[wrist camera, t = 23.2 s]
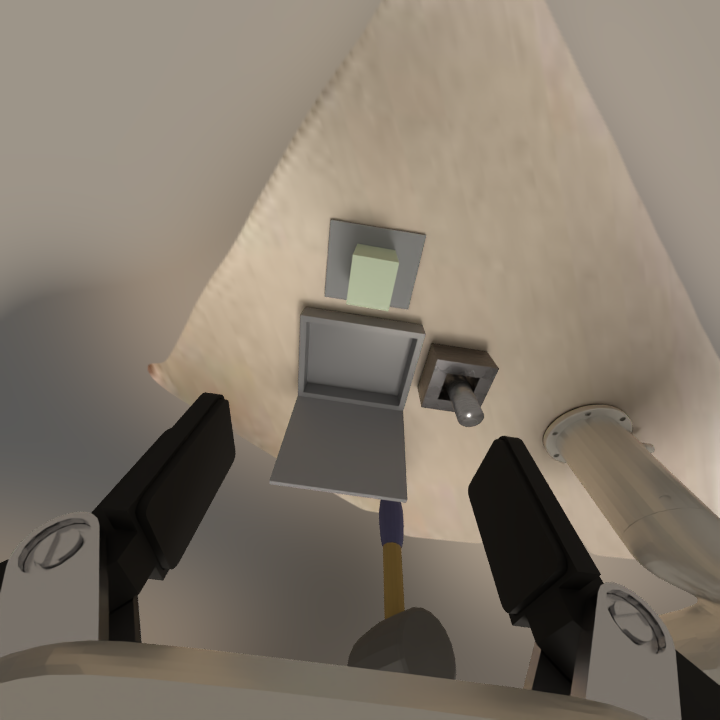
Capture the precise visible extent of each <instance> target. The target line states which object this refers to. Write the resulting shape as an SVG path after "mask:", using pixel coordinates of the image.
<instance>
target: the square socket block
mask: <svg viewBox="0 0 720 720" xmlns="http://www.w3.org/2000/svg"><path fill="white" fill-rule="evenodd" d="M498 370H499V368H498V367H497V365H496V364H495V362H494V361H493V359H492V358H491V357H490V355H489V354H488V352H486V351H480V350H473V349H466V348H460V347H453V346H447V345H440V344H434V343H432V344H431V347H430V350H429V354H428V357H427V360H426V363H425V366H424V369H423V373H422V376H421V379H420V382H419V385H418V392H419V397H420V402H421V407H424V408H431V409H438V410H445V411H451V412H455V411H454V408H453V406H452V403H451V400H450V397H449V395H448V392H447V389H446V386H445V383H444V380H445V378H446V375H447V373H450V374H456V375H463V376H466V379H467V381H468V383H469V385H470V387H471V389H472V391H473V393H474V395H475V397H476V399H477V401H478V403H479V405H480V407H481V405H482V403H483V401H484V399H485V397H486V395H487V393H488V391H489V388H490V386H491V384H492V382H493V380H494V378H495V376H496V374H497V372H498Z"/></svg>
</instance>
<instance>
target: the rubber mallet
mask: <svg viewBox="0 0 720 720" xmlns="http://www.w3.org/2000/svg"><path fill="white" fill-rule="evenodd" d="M379 525H380V536H381V542H382V546H383V567H384V609H385V620H383V621H381V622H379V623H378V624H376V625H375V626H374V627H373V628H371V629H370V630H369V631H368V632H366V633H365V634H364V635H363V636H362V637H361V638H360V639H359V640H358V641H357V642H356V643H355V645H354V646H353V649H352V651H351V653H350V656H349V660H348V667H356V668H364V669H372V670H380V671H389V672H397V673H405V674H413V675H421V676H429V677H436V678H444V679H452V680H455V678H456V664H455V657H454V652H453V648H452V644H451V642H450V640H449V637H448V635H447V633H446V630H445V629H444V627H443V626H442V624H441V623H440V621H439V620H438V619H437V618H436V617H435V616H434V615H433V614H432V613H431V612H429V611H427V610H425V609H423V608H416V607H413V608H410V609H407V610H404V594H403V593H404V592H403V574H402V557H401V548H402V544H403V528H404V525H403V510H402V506H401V502H396V501H389V500H382V499H381V501H380V509H379Z"/></svg>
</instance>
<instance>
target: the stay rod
mask: <svg viewBox="0 0 720 720" xmlns="http://www.w3.org/2000/svg"><path fill="white" fill-rule="evenodd" d="M444 383H445V386H446V389H447V392H448V395H449V397H450V400H451V403H452V406H453V408H454V411H455V414H456V417H457V420H458V422H459V423H460V424H461V425H462V426H465V427H472V426H476V425H478V424H479V423H481V422H482V420H483V418H484V414H483V411H482V409H481V407H480V405H479V403H478V401H477V399H476V397H475V395H474V393H473V391H472V389H471V387H470V385H469V383H468V381H467V379H466V376H463V375H456V374H450V373H447V375H446V378H445V380H444Z"/></svg>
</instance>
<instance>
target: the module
mask: <svg viewBox="0 0 720 720" xmlns="http://www.w3.org/2000/svg"><path fill="white" fill-rule="evenodd" d="M398 266H399V261H398V257H397V254H396V251H395V250H391V249H385V248H380V247H374V246H369V245H363V244H357V246H356V248H355V251H354V253H353V258H352V265H351V272H350V280H349V287H348V294H347V302H346V304H348V305H354V306H359V307H365V308H371V309H377V310H383V311H389V306H390V302H391V297H392V293H393V288H394V284H395V279H396V275H397V270H398Z"/></svg>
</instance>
